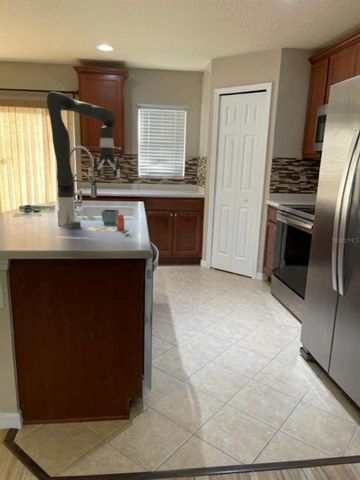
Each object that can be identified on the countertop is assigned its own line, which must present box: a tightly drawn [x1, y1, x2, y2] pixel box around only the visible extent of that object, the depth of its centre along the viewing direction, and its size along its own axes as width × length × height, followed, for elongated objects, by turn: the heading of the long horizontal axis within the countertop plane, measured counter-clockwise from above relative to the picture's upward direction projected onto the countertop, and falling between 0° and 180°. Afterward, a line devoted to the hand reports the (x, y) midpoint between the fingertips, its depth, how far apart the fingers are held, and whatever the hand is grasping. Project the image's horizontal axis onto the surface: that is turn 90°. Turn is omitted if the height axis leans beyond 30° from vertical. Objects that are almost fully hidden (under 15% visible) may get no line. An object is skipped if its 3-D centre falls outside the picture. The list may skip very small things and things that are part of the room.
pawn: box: [116, 213, 125, 231], centre depth 196 cm, size 4×4×9 cm
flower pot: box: [100, 209, 120, 225], centre depth 216 cm, size 9×9×9 cm
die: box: [70, 220, 82, 230], centre depth 199 cm, size 5×5×5 cm
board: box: [86, 226, 129, 235], centre depth 198 cm, size 22×10×1 cm, turn 84°
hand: (107, 176), depth 197 cm, fingers open, 8 cm apart
